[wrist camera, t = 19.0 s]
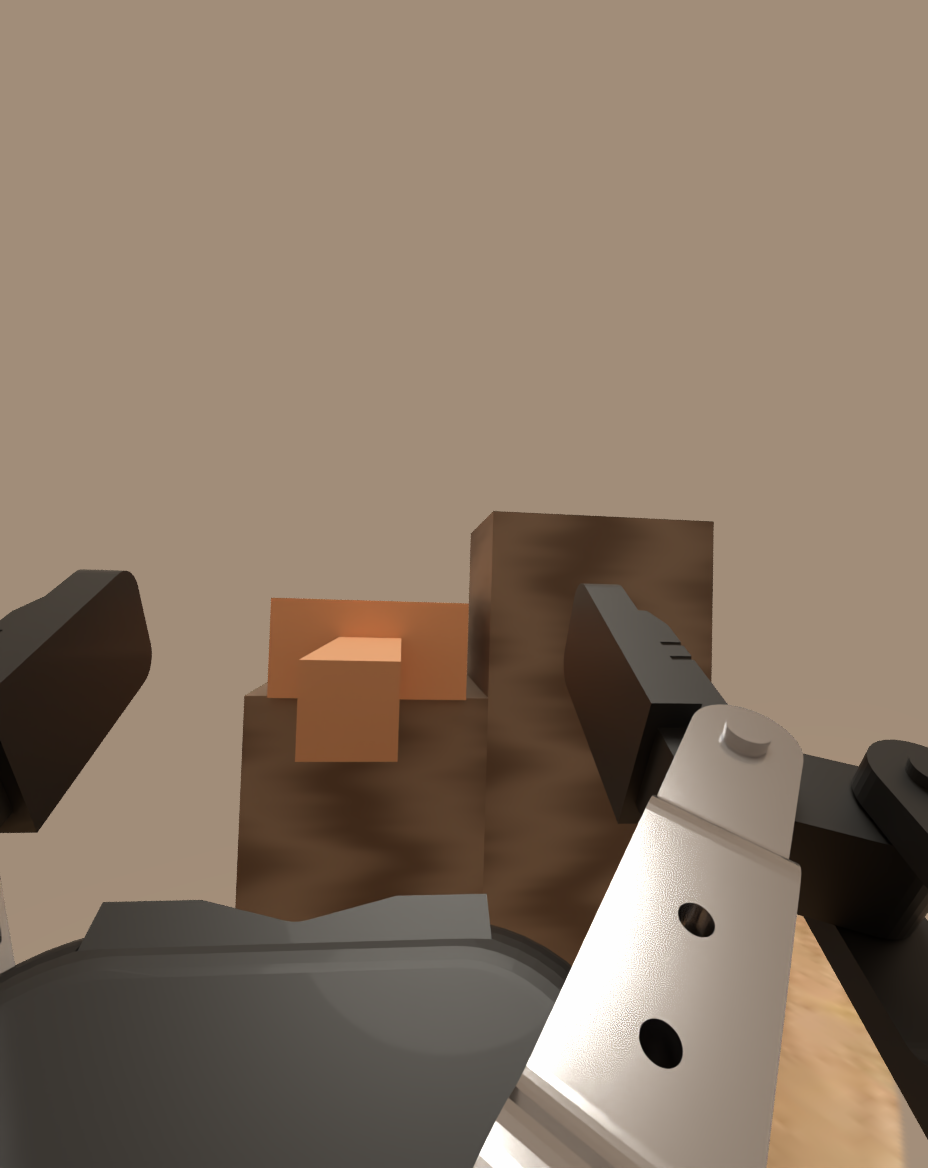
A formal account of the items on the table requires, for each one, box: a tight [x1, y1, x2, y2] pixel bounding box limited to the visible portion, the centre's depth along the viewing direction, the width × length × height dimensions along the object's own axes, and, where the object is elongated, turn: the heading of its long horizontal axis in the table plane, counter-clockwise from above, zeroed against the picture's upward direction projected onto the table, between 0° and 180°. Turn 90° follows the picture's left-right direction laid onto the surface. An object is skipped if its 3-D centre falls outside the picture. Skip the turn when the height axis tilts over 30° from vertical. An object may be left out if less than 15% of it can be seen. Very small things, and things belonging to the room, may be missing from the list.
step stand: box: [236, 511, 714, 966], centre depth 28 cm, size 20×8×32 cm, turn 96°
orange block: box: [267, 598, 469, 762], centre depth 22 cm, size 8×17×4 cm, turn 6°
